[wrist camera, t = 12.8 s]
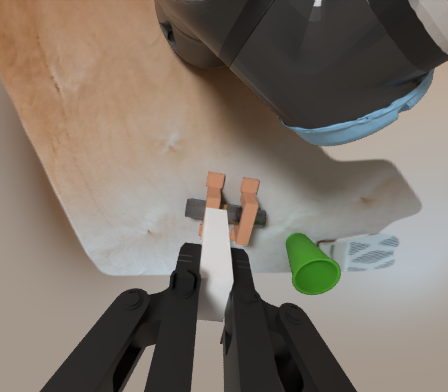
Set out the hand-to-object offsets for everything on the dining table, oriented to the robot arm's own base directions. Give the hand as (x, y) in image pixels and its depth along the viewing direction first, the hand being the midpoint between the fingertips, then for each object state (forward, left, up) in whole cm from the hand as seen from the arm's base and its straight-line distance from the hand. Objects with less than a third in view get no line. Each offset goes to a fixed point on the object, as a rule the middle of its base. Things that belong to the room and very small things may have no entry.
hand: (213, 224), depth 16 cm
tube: (+12, +4, -26) cm, 29 cm away
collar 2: (+12, +8, -26) cm, 30 cm away
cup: (+18, +22, -27) cm, 39 cm away
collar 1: (+12, +1, -26) cm, 29 cm away
